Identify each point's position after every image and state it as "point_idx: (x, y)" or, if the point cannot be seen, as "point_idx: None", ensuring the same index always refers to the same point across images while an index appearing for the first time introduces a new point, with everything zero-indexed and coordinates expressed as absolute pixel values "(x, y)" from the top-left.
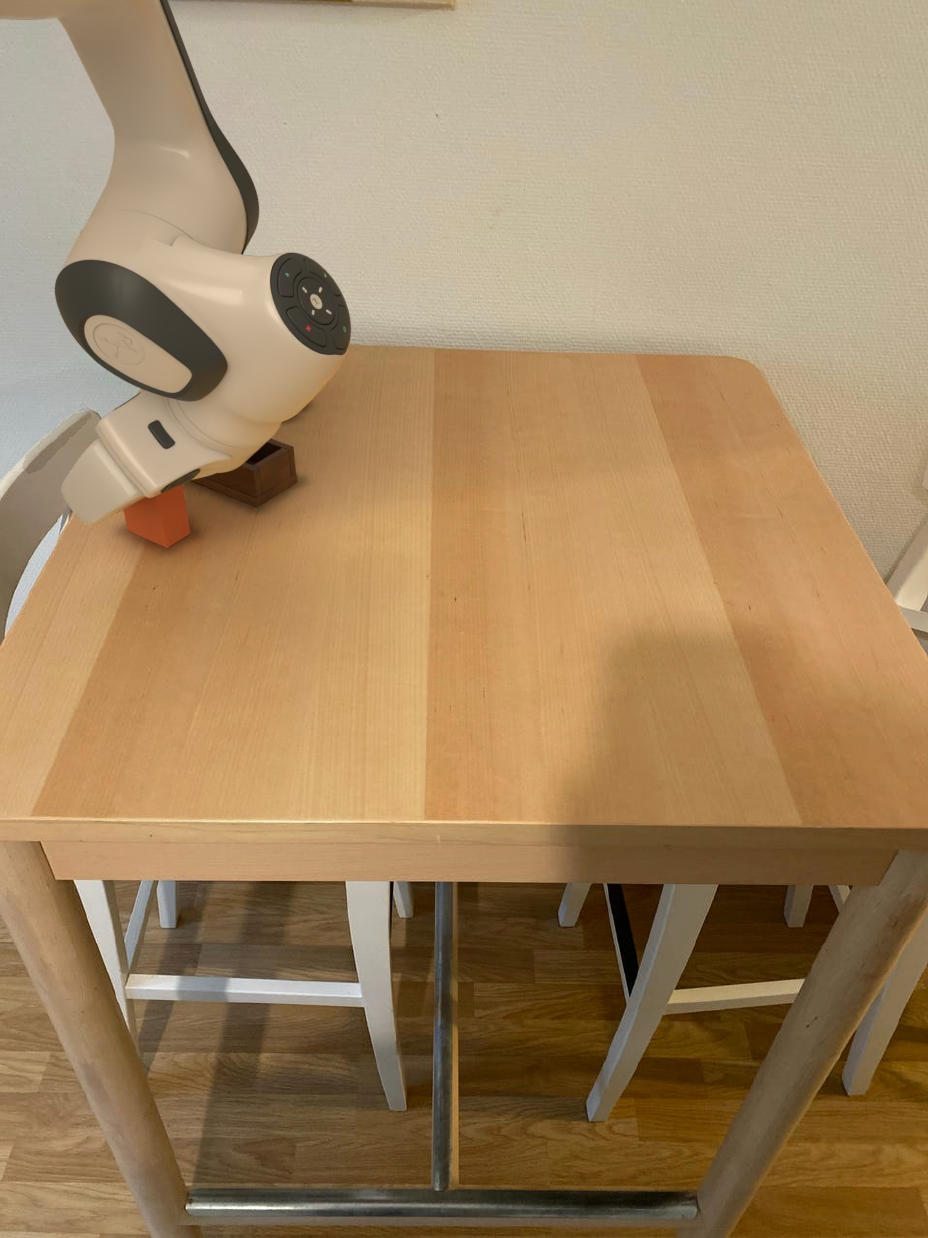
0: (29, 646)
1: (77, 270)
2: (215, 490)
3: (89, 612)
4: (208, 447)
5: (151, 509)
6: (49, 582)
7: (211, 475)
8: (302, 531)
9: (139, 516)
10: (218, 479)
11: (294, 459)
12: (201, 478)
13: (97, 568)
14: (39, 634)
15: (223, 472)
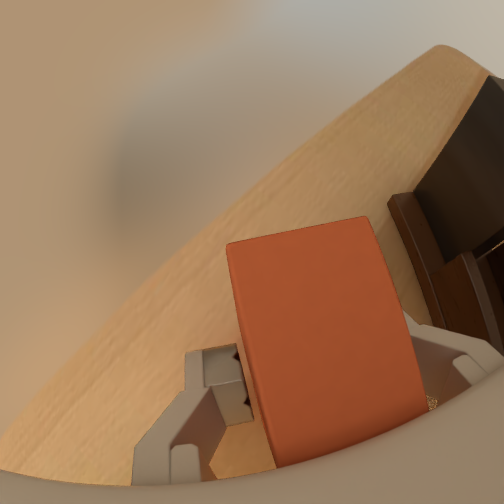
0: (9, 456)
1: None
2: (426, 302)
3: (79, 472)
4: None
5: (262, 418)
6: (69, 364)
7: (440, 288)
8: None
9: (249, 367)
10: (444, 304)
11: None
12: (422, 268)
13: (136, 391)
14: (22, 449)
15: (461, 315)
